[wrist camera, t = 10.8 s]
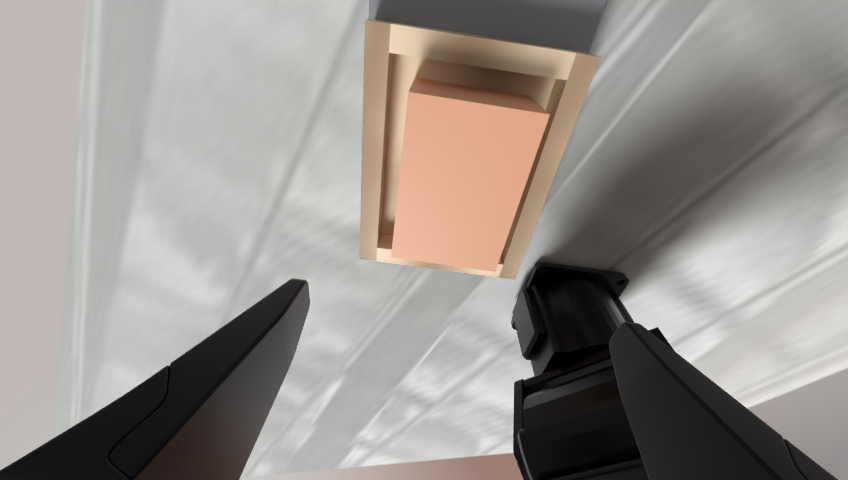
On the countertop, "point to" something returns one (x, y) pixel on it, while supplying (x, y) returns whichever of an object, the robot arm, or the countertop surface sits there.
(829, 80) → the countertop surface
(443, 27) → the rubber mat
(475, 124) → the card deck block
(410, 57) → the tray
